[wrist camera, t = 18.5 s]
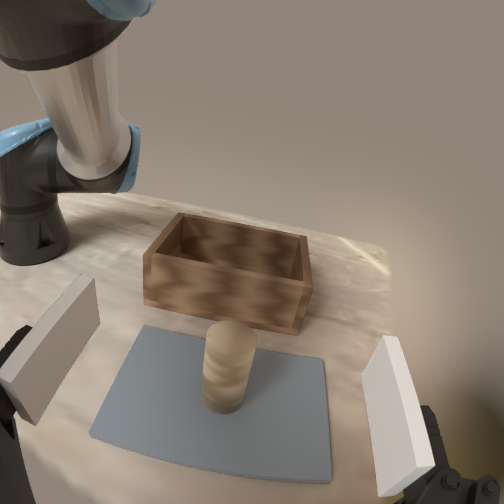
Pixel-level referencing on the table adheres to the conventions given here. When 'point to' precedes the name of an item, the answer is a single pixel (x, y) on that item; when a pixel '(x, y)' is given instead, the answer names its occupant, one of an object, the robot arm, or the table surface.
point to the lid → (220, 406)
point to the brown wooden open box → (229, 273)
